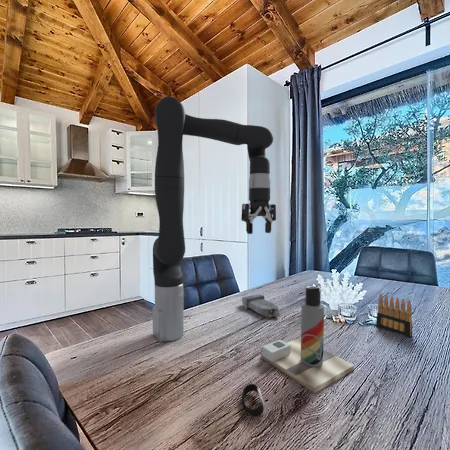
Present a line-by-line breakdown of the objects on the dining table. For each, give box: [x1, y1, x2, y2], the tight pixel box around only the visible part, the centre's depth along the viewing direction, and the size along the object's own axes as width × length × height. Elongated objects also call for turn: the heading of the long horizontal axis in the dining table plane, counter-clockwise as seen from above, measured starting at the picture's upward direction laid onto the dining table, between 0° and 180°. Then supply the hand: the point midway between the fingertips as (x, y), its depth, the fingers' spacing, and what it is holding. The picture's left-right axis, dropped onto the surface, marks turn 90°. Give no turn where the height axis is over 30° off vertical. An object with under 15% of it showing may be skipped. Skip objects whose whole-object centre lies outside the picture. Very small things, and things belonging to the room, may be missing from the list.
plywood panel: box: [260, 337, 355, 394], centre depth 73 cm, size 16×18×1 cm
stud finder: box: [261, 339, 291, 362], centre depth 75 cm, size 7×4×3 cm, turn 124°
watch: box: [241, 383, 266, 418], centre depth 57 cm, size 8×5×4 cm, turn 5°
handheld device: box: [241, 294, 280, 319], centre depth 111 cm, size 10×20×5 cm, turn 30°
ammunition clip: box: [375, 293, 413, 338], centre depth 92 cm, size 11×2×12 cm, turn 36°
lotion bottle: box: [300, 286, 325, 367], centre depth 71 cm, size 6×6×20 cm
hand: (259, 233), depth 96 cm, fingers open, 8 cm apart
